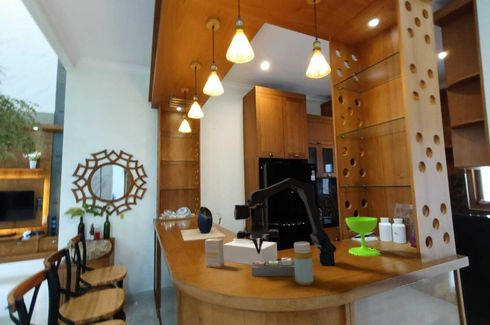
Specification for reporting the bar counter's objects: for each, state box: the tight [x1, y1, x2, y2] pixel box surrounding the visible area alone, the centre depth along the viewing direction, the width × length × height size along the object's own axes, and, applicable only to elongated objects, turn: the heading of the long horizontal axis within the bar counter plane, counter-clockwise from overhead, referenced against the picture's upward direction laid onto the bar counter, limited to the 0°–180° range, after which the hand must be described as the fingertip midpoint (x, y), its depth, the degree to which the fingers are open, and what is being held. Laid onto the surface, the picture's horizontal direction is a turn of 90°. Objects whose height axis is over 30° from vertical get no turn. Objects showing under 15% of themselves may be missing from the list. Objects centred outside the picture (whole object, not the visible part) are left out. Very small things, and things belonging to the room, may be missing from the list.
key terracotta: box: [255, 261, 265, 266], centre depth 110 cm, size 4×4×2 cm
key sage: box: [269, 260, 279, 266], centre depth 110 cm, size 4×4×2 cm
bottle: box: [293, 241, 314, 287], centre depth 97 cm, size 7×7×15 cm
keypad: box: [251, 260, 295, 277], centre depth 109 cm, size 19×9×4 cm, turn 85°
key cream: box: [281, 257, 292, 265], centre depth 109 cm, size 4×4×2 cm
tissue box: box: [223, 237, 278, 266], centre depth 131 cm, size 14×25×11 cm, turn 55°
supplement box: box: [204, 238, 225, 269], centre depth 123 cm, size 8×5×13 cm, turn 65°
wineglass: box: [345, 216, 382, 258], centre depth 134 cm, size 16×16×18 cm
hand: (258, 253), depth 111 cm, fingers closed
